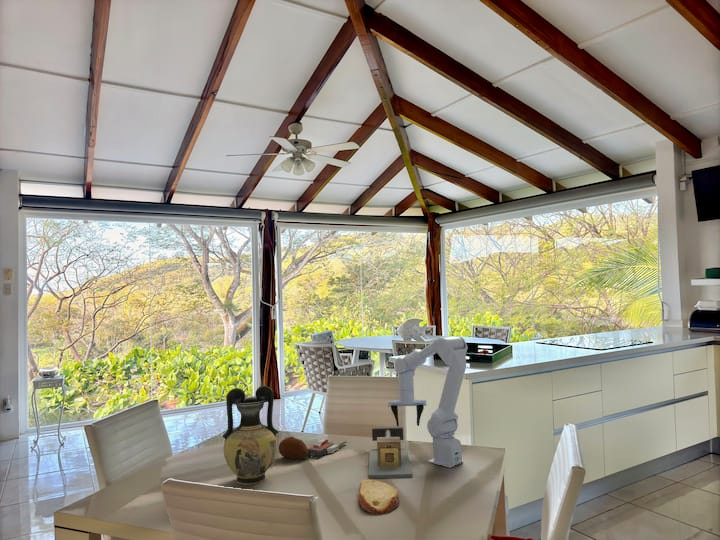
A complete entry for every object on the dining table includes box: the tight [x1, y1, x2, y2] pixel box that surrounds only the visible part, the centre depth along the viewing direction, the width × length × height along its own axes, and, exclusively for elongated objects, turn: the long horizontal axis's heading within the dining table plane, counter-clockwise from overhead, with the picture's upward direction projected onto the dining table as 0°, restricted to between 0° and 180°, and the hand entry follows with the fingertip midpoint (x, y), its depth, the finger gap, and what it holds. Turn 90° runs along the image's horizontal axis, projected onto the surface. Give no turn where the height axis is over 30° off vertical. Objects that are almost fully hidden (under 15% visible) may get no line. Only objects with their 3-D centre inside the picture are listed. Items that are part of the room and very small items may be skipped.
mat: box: [368, 449, 413, 479], centre depth 166 cm, size 26×14×1 cm, turn 178°
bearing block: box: [376, 437, 402, 466], centre depth 166 cm, size 6×8×8 cm
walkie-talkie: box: [307, 438, 347, 458], centre depth 185 cm, size 9×4×20 cm
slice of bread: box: [357, 478, 400, 516], centre depth 137 cm, size 18×18×4 cm
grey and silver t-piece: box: [371, 426, 404, 447], centre depth 176 cm, size 22×12×4 cm, turn 178°
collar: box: [380, 446, 399, 467], centre depth 162 cm, size 2×6×6 cm, turn 88°
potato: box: [278, 436, 308, 460], centre depth 176 cm, size 8×12×8 cm, turn 78°
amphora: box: [222, 385, 279, 486], centre depth 157 cm, size 18×17×30 cm
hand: (407, 425), depth 182 cm, fingers open, 7 cm apart
